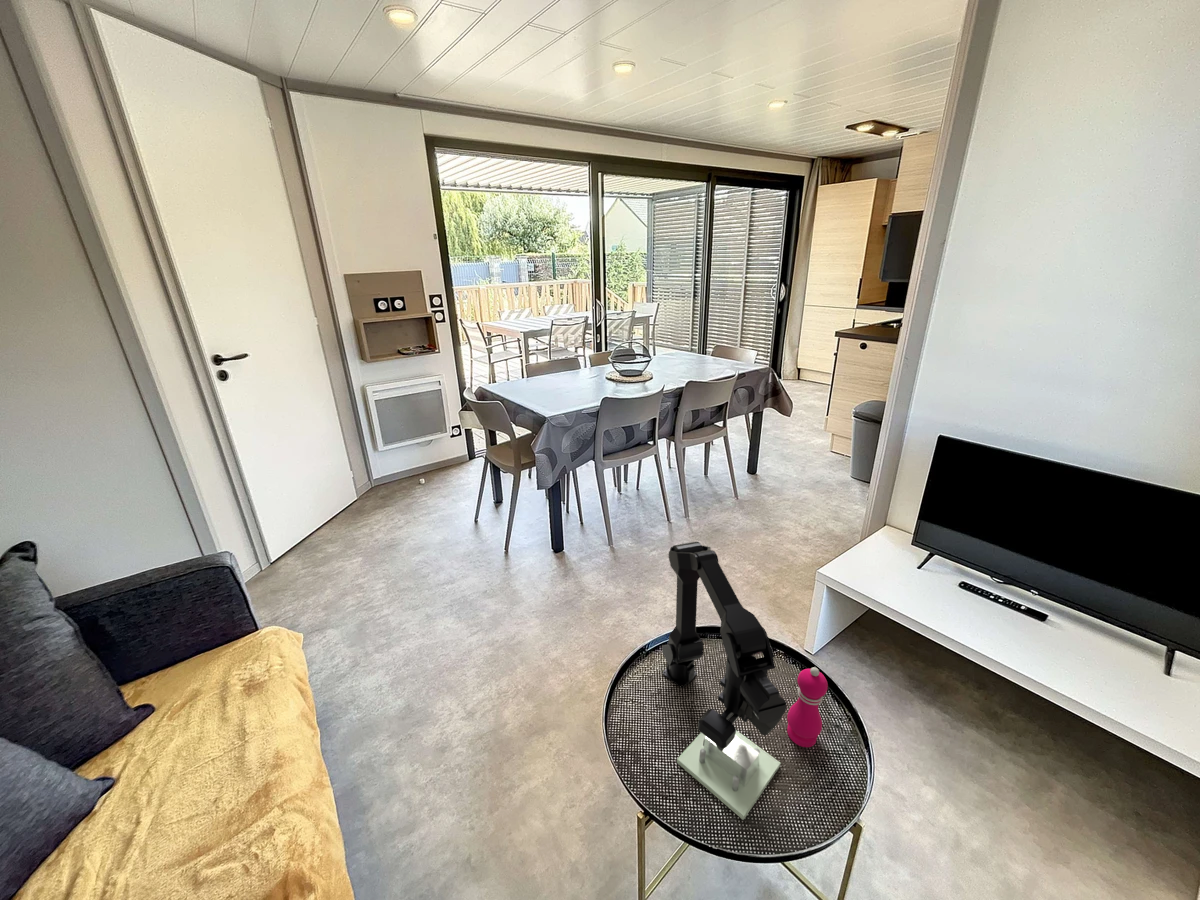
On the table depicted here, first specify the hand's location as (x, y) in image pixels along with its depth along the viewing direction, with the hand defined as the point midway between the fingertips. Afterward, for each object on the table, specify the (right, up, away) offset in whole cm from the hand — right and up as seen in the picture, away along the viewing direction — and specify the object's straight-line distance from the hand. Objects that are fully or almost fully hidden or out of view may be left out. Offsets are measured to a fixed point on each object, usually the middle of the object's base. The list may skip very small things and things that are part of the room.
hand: (732, 734), depth 99 cm
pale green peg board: (0, -9, +4) cm, 9 cm away
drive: (0, -8, +3) cm, 8 cm away
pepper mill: (+18, -6, +10) cm, 22 cm away
